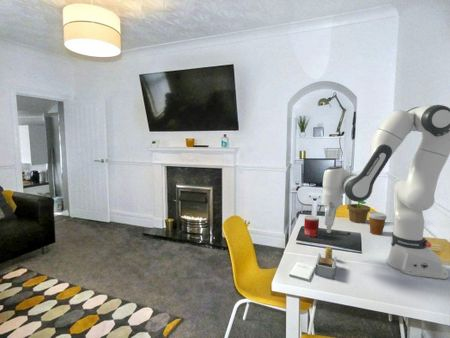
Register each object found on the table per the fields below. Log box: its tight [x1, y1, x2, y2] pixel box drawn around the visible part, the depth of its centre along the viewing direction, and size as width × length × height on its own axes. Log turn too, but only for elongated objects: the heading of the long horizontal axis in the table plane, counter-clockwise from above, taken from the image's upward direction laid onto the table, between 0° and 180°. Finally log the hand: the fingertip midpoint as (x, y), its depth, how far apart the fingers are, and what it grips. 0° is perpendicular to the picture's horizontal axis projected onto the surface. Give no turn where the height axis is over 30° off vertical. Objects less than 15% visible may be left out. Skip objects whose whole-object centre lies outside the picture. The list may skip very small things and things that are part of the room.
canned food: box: [303, 214, 320, 238], centre depth 155 cm, size 8×8×11 cm
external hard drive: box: [289, 261, 316, 282], centre depth 114 cm, size 2×8×12 cm
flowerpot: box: [346, 200, 371, 224], centre depth 179 cm, size 14×14×30 cm
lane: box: [314, 253, 338, 280], centre depth 115 cm, size 8×12×4 cm, turn 154°
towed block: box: [319, 246, 334, 268], centre depth 120 cm, size 5×18×5 cm, turn 154°
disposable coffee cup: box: [368, 211, 388, 236], centre depth 158 cm, size 10×10×12 cm
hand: (329, 228), depth 125 cm, fingers open, 8 cm apart
